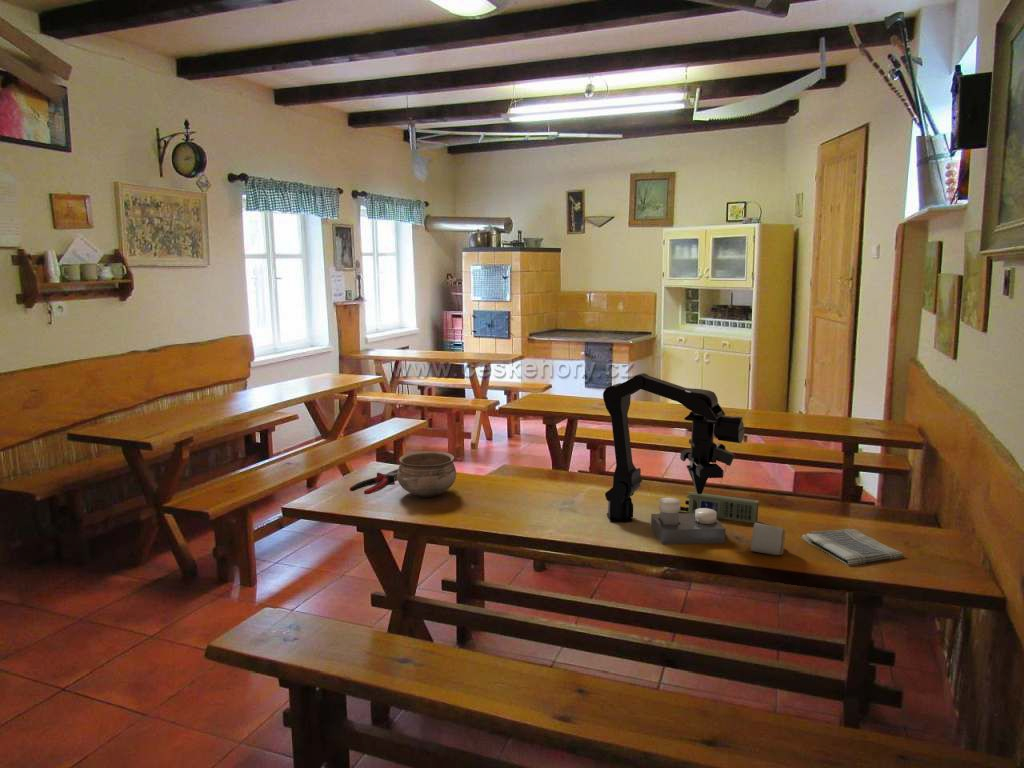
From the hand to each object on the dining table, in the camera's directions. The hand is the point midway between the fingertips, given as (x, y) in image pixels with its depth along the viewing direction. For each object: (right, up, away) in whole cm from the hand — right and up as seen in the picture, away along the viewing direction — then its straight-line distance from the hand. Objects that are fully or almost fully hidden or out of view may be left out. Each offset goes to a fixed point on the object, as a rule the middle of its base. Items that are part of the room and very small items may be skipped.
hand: (699, 493), depth 189 cm
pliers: (-96, -5, +48) cm, 107 cm away
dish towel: (+37, -14, -7) cm, 40 cm away
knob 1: (-8, -8, +1) cm, 11 cm away
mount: (-3, -12, +2) cm, 12 cm away
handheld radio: (+8, -10, +16) cm, 21 cm away
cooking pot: (-78, -6, +36) cm, 86 cm away
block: (+15, -14, -9) cm, 22 cm away
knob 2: (+2, -11, +2) cm, 11 cm away
